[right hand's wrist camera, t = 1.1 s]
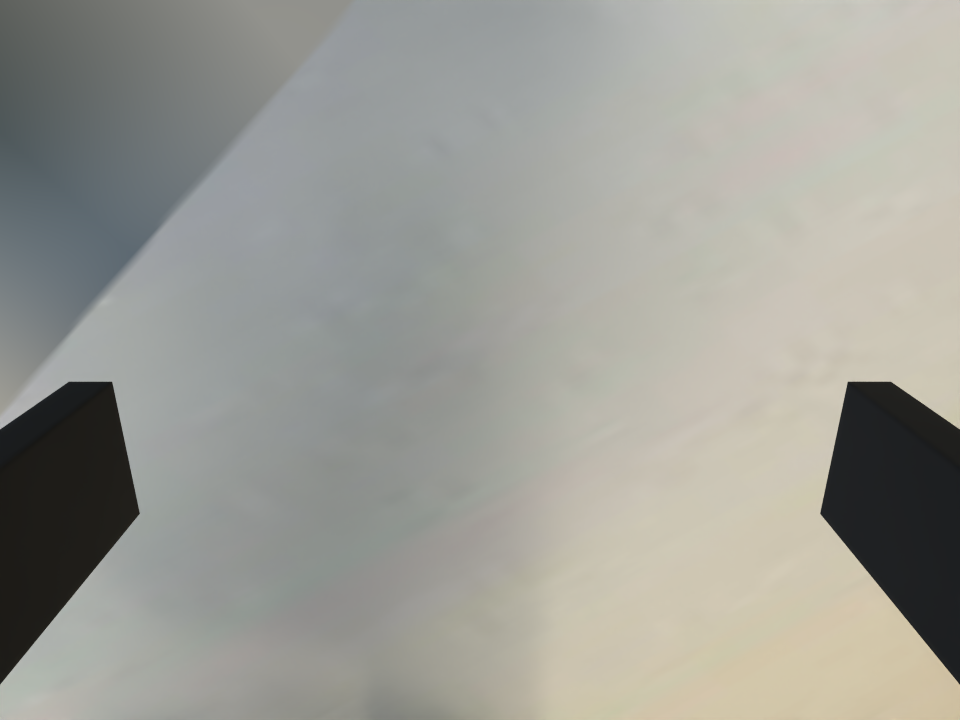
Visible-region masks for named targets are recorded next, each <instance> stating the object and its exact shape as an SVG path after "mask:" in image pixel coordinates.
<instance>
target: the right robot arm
mask: <svg viewBox="0 0 960 720" xmlns="http://www.w3.org/2000/svg"><path fill="white" fill-rule="evenodd" d="M139 514H140V513H139V508H138V503H137V498H136V494H135V489H134V484H133V479H132V475H131V470H130V465H129V460H128V455H127V451H126V446H125V441H124V436H123V432H122V427H121V422H120V417H119V413H118V408H117V403H116V398H115V393H114V389H113V384H112V382H68V383H67V384H65V385H64V386H62V387H61V388H59V389H58V390H57V391H55V392H54V393H52V394H51V395H49V396H48V397H46V398H45V399H44V400H42V401H41V402H39V403H38V404H36V405H35V406H34V407H32V408H31V409H29V410H28V411H26V412H25V413H23V414H22V415H21V416H19V417H18V418H16V419H15V420H13V421H12V422H10V423H9V424H8V425H6V426H5V427H3V428H2V429H0V684H1V683H2V681H3V680H4V679H5V678H6V677H7V675H8V674H9V673H10V672H11V670H12V669H13V668H14V667H15V666H16V664H17V663H18V662H19V661H20V659H21V658H22V657H23V656H24V655H25V653H26V652H27V651H28V650H29V648H30V647H31V646H32V645H33V644H34V642H35V641H36V640H37V639H38V637H39V636H40V635H41V634H42V633H43V631H44V630H45V629H46V628H47V626H48V625H49V624H50V623H51V622H52V620H53V619H54V618H55V617H56V615H57V614H58V613H59V612H60V611H61V609H62V608H63V607H64V606H65V604H66V603H67V602H68V601H69V600H70V598H71V597H72V596H73V595H74V593H75V592H76V591H77V590H78V589H79V587H80V586H81V585H82V584H83V582H84V581H85V580H86V579H87V577H88V576H89V575H90V574H91V573H92V571H93V570H94V569H95V568H96V566H97V565H98V564H99V563H100V562H101V560H102V559H103V558H104V557H105V555H106V554H107V553H108V552H109V551H110V549H111V548H112V547H113V546H114V544H115V543H116V542H117V541H118V540H119V538H120V537H121V536H122V535H123V533H124V532H125V531H126V530H127V529H128V527H129V526H130V525H131V524H132V522H133V521H134V520H135V519H136V518H137V516H138V515H139ZM820 514H821V515H822V516H823V518H824V519H825V520H826V521H827V522H828V524H829V525H830V526H831V527H832V529H833V530H834V531H835V532H836V533H837V535H838V536H839V537H840V538H841V540H842V541H843V542H844V543H845V544H846V546H847V547H848V548H849V549H850V551H851V552H852V553H853V554H854V555H855V557H856V558H857V559H858V560H859V562H860V563H861V564H862V565H863V566H864V568H865V569H866V570H867V571H868V573H869V574H870V575H871V576H872V577H873V579H874V580H875V581H876V582H877V584H878V585H879V586H880V587H881V589H882V590H883V591H884V592H885V593H886V595H887V596H888V597H889V598H890V600H891V601H892V602H893V603H894V604H895V606H896V607H897V608H898V609H899V611H900V612H901V613H902V614H903V615H904V617H905V618H906V619H907V620H908V622H909V623H910V624H911V625H912V626H913V628H914V629H915V630H916V631H917V633H918V634H919V635H920V636H921V637H922V639H923V640H924V641H925V642H926V644H927V645H928V646H929V647H930V648H931V650H932V651H933V652H934V653H935V655H936V656H937V657H938V658H939V659H940V661H941V662H942V663H943V664H944V666H945V667H946V668H947V669H948V670H949V672H950V673H951V674H952V675H953V677H954V678H955V679H956V680H957V681H958V683H959V684H960V429H958V428H957V427H955V426H954V425H952V424H951V423H950V422H948V421H947V420H945V419H944V418H942V417H941V416H939V415H938V414H937V413H935V412H934V411H932V410H931V409H929V408H928V407H926V406H925V405H924V404H922V403H921V402H919V401H918V400H916V399H915V398H914V397H912V396H911V395H909V394H908V393H906V392H905V391H903V390H902V389H901V388H899V387H898V386H896V385H895V384H893V383H892V382H848V384H847V389H846V393H845V398H844V403H843V408H842V413H841V417H840V422H839V427H838V432H837V436H836V441H835V446H834V451H833V455H832V460H831V465H830V470H829V475H828V479H827V484H826V489H825V494H824V498H823V503H822V508H821V513H820Z"/></svg>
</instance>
